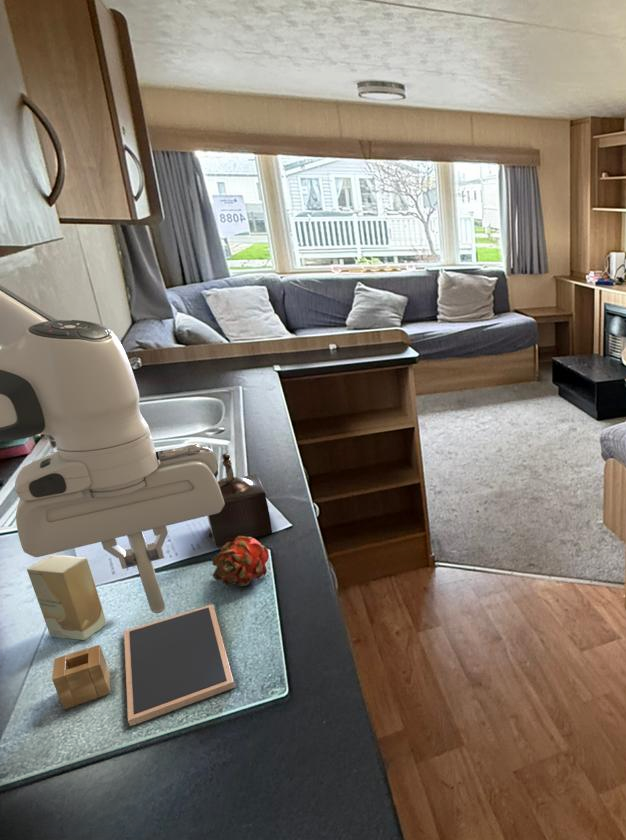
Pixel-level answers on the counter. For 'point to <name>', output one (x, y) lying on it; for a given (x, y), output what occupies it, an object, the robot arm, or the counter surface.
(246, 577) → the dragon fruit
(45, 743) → the counter surface
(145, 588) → the stylus
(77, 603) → the cosmetic box
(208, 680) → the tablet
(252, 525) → the brown manual coffee grinder
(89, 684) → the pen stand
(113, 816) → the counter surface
